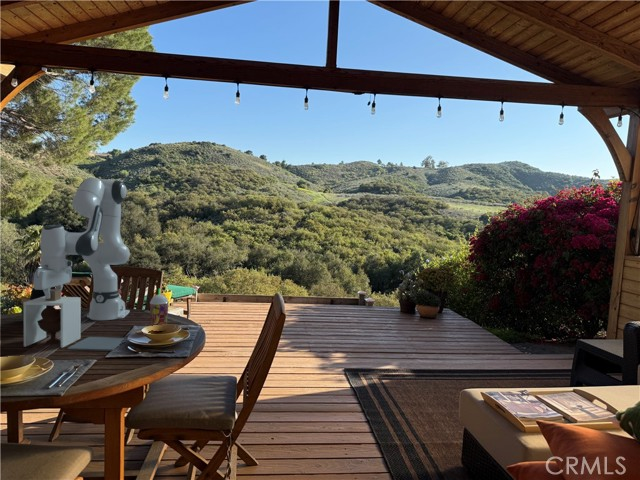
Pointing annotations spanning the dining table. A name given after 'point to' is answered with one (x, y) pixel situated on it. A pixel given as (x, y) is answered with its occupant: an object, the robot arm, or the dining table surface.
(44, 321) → the ice cream bowl
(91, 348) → the mat
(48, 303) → the cover
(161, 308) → the smoothie
